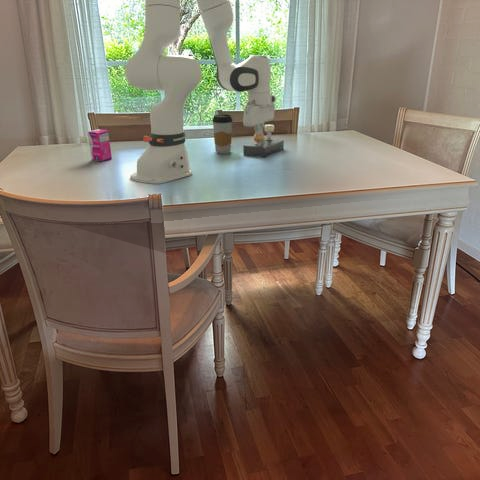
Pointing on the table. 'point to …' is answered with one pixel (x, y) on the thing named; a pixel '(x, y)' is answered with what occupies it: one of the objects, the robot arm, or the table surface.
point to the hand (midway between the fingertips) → (258, 134)
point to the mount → (263, 148)
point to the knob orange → (259, 139)
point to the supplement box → (99, 145)
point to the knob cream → (269, 131)
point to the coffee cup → (222, 133)
